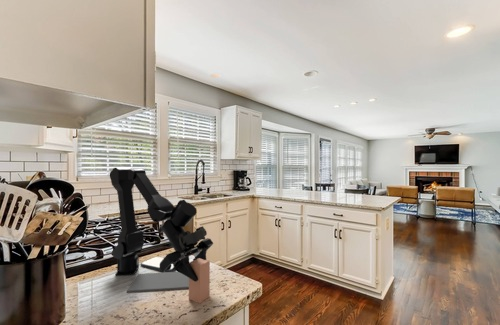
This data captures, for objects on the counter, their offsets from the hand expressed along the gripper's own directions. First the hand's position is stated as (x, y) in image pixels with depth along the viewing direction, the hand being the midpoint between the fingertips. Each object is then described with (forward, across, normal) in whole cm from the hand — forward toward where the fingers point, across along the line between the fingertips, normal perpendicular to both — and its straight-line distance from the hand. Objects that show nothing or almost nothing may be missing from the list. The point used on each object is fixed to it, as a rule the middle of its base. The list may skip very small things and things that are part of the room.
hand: (202, 277), depth 76 cm
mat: (-8, +2, +18) cm, 20 cm away
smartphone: (-16, +10, +26) cm, 33 cm away
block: (+4, 0, +6) cm, 7 cm away
